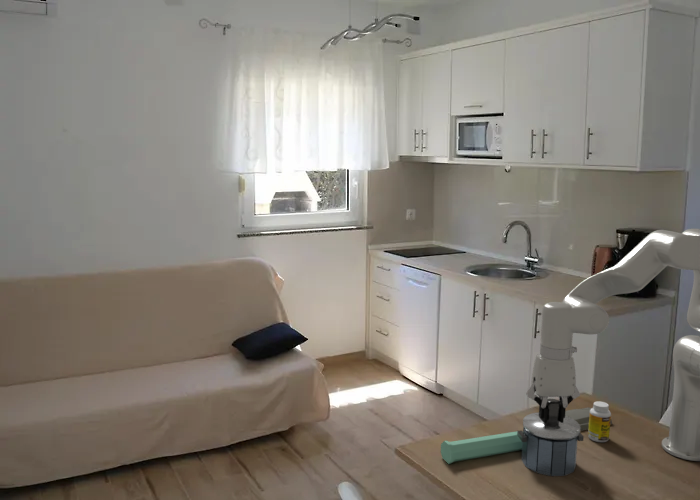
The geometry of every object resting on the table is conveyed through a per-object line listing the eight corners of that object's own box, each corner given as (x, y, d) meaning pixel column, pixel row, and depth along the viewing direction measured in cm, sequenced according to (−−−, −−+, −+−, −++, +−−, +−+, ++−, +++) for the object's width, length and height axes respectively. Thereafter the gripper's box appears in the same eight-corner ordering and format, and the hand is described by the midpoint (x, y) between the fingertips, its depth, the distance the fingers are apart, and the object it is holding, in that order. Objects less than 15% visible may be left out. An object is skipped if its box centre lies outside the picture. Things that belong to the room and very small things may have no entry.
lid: (567, 415, 173) (569, 390, 172) (589, 439, 159) (591, 412, 158) (515, 416, 172) (517, 391, 171) (533, 440, 159) (535, 413, 157)
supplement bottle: (600, 445, 178) (603, 409, 176) (583, 437, 182) (586, 402, 181) (613, 439, 181) (616, 405, 179) (596, 432, 185) (598, 398, 184)
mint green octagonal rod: (524, 423, 177) (443, 435, 168) (536, 440, 172) (453, 453, 164) (518, 438, 180) (438, 451, 171) (530, 455, 175) (448, 469, 167)
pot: (568, 450, 174) (570, 418, 173) (588, 475, 162) (591, 441, 160) (510, 451, 174) (512, 419, 172) (526, 476, 161) (528, 442, 159)
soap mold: (613, 426, 191) (613, 414, 190) (558, 437, 183) (559, 426, 182) (587, 412, 200) (588, 401, 200) (535, 423, 192) (535, 412, 192)
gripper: (582, 346, 167) (577, 413, 170) (518, 347, 166) (515, 415, 169) (594, 356, 159) (589, 426, 162) (528, 357, 158) (524, 427, 162)
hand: (551, 420), depth 166 cm, fingers closed on lid, 3 cm apart
